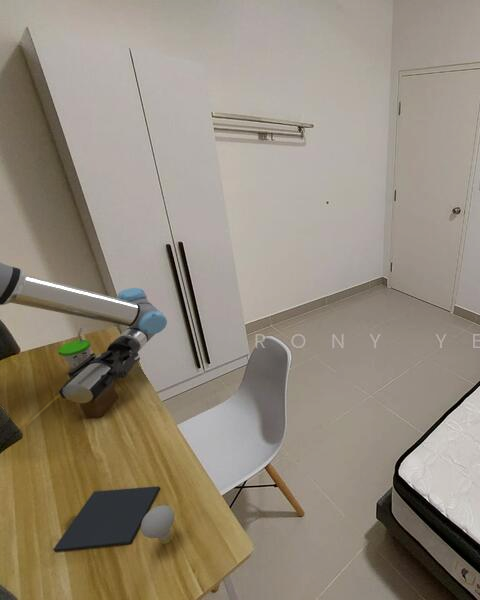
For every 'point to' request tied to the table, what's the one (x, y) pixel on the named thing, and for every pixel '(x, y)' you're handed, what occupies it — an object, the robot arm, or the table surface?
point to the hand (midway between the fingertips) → (77, 393)
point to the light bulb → (158, 523)
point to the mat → (108, 519)
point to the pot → (86, 381)
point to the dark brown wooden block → (100, 403)
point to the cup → (75, 351)
